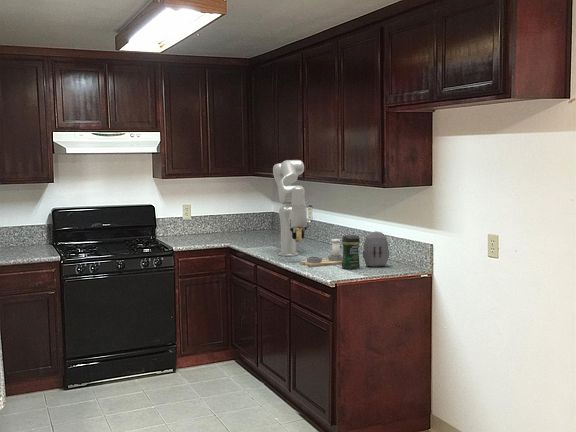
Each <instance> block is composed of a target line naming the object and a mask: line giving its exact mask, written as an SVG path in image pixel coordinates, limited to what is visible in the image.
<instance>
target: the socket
mask: <svg viewBox="0 0 576 432" xmlns="http://www.w3.org/2000/svg"><path fill="white" fill-rule="evenodd" d="M322 259H323V257H321V256H308V257H306V260H307V262H308V263H321V262H322Z"/></svg>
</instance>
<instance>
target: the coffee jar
mask: <svg viewBox="0 0 576 432" xmlns="http://www.w3.org/2000/svg"><path fill="white" fill-rule="evenodd" d="M360 242H361V241H360V235H356V234H348V235H343V236H342V240H341V244H342V250H343V252H342V256H343V259H342V265H341V267H342V268H343V269H344V270H354V269H355V270H356V269H360V266H361V265H360V254H359V248H360Z"/></svg>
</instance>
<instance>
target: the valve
mask: <svg viewBox="0 0 576 432" xmlns="http://www.w3.org/2000/svg"><path fill="white" fill-rule="evenodd" d="M295 233H296V239H294V241H295V242H296V243H297V242H298V243H300V242H302V241H303V239H302V228H301V227H296V229H295Z"/></svg>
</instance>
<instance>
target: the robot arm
mask: <svg viewBox="0 0 576 432" xmlns="http://www.w3.org/2000/svg"><path fill="white" fill-rule="evenodd" d="M304 171H305V165H304V162H303V161H302V160H300V159H291V160H290V159H286V160H284V161H282V162H280V163H276V164H274V165H273V167H272V174H273V178H274V180H275V183H276V185H277V190H278V198H279V203H280V204H281V206H280V207H279V208H278V209H279V210H278V215H279V223H280V252H278V256H281V257H295V256H298V255H299V252H298V251H297V242H295V241H294V239H296V233H295V229H296V227H301V228H302V240H304V239H305V238H304V237H305V232H306V230H307V229H308V228H309V227H310V224H309V223H308V217H307V215H308V212H307V205H306V198H305V192H306V191H305V187H303V186H302V185H292V184H294V183H296V182H297V180H298V176H301V175H302V174H303V173H304Z"/></svg>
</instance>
